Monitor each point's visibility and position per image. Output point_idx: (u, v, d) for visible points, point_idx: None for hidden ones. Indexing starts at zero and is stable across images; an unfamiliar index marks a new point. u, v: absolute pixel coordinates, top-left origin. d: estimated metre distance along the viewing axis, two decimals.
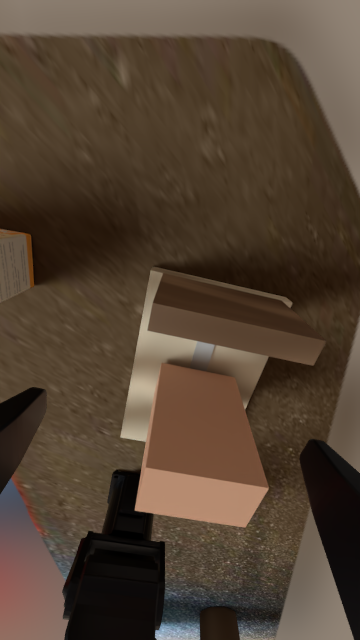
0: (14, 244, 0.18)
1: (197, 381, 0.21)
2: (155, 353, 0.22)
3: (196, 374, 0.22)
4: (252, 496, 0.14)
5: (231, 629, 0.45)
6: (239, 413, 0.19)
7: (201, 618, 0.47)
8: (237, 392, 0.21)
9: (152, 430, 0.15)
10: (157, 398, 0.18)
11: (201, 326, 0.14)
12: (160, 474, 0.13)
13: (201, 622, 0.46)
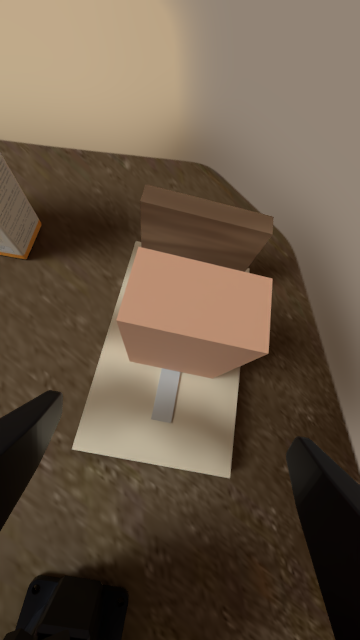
0: (31, 212, 0.23)
1: None
2: None
3: None
4: (259, 290, 0.12)
5: None
6: None
7: None
8: None
9: None
10: None
11: (182, 201, 0.18)
12: (153, 257, 0.12)
13: None
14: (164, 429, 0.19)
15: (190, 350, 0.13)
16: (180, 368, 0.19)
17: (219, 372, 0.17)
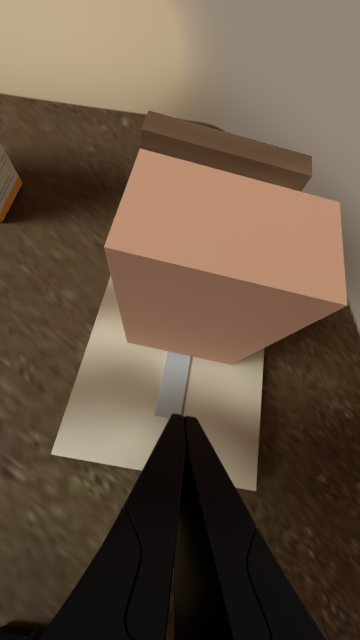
0: (7, 163, 0.19)
1: None
2: None
3: None
4: (322, 217, 0.08)
5: None
6: None
7: None
8: None
9: None
10: None
11: (195, 132, 0.14)
12: (163, 163, 0.08)
13: None
14: None
15: (215, 311, 0.09)
16: (192, 349, 0.15)
17: (245, 353, 0.13)
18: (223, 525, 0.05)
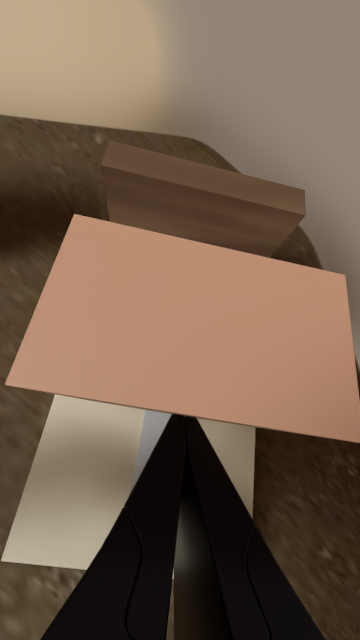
0: None
1: None
2: None
3: None
4: (324, 300, 0.06)
5: None
6: None
7: None
8: None
9: None
10: None
11: (167, 166, 0.12)
12: (106, 234, 0.06)
13: None
14: None
15: (187, 415, 0.07)
16: None
17: None
18: (223, 525, 0.05)
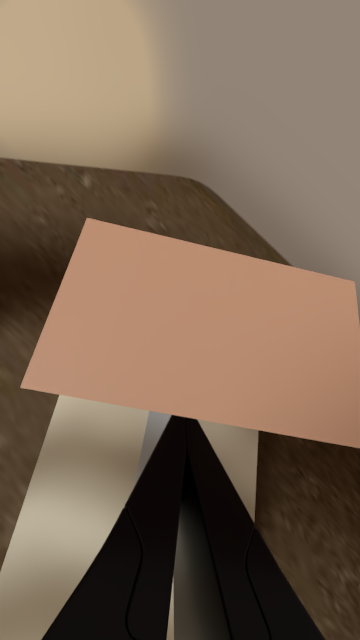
0: None
1: None
2: (82, 430, 0.13)
3: None
4: (334, 307, 0.06)
5: None
6: None
7: None
8: None
9: None
10: None
11: None
12: (119, 239, 0.06)
13: None
14: None
15: None
16: None
17: None
18: (223, 525, 0.05)
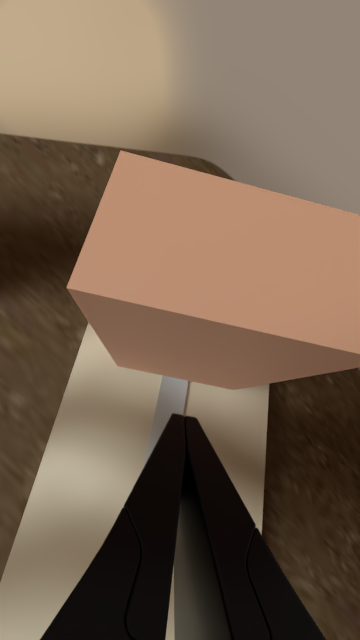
0: None
1: None
2: (98, 390, 0.14)
3: None
4: (354, 239, 0.06)
5: None
6: None
7: None
8: None
9: None
10: None
11: None
12: (150, 170, 0.06)
13: None
14: None
15: (217, 352, 0.07)
16: (190, 377, 0.13)
17: (250, 384, 0.12)
18: (223, 525, 0.05)
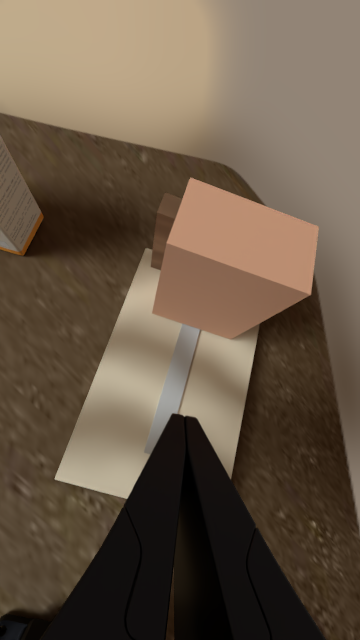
0: (32, 204, 0.21)
1: None
2: (137, 328, 0.20)
3: None
4: (305, 236, 0.12)
5: None
6: None
7: None
8: None
9: None
10: None
11: None
12: (204, 189, 0.12)
13: None
14: None
15: (227, 292, 0.13)
16: (203, 323, 0.19)
17: (243, 328, 0.18)
18: (223, 525, 0.05)
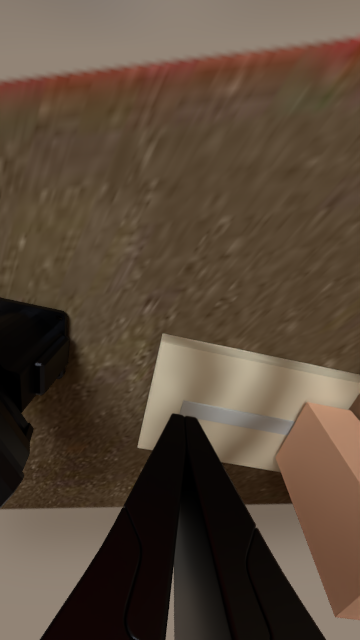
0: None
1: None
2: (291, 387, 0.20)
3: None
4: None
5: None
6: None
7: None
8: None
9: None
10: None
11: None
12: None
13: None
14: (174, 409, 0.22)
15: (338, 536, 0.15)
16: (295, 451, 0.21)
17: (290, 491, 0.20)
18: (223, 525, 0.05)
